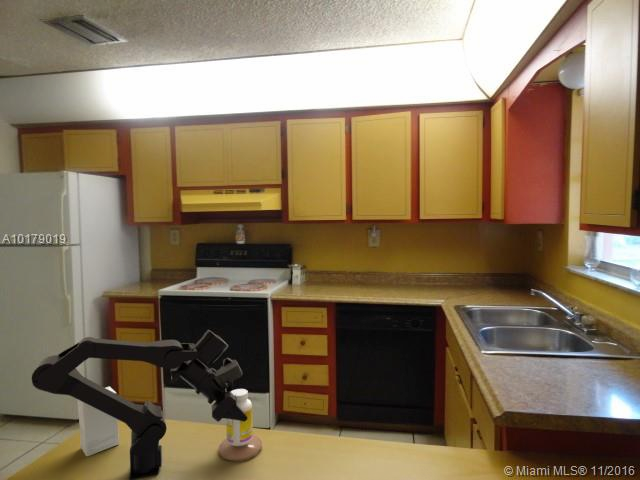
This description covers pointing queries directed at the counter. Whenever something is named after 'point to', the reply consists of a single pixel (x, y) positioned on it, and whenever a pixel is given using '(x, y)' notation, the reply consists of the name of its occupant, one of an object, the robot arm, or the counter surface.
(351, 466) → the counter surface
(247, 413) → the supplement bottle
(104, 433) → the skincare box
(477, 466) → the counter surface
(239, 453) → the terracotta round disc
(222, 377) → the robot arm
